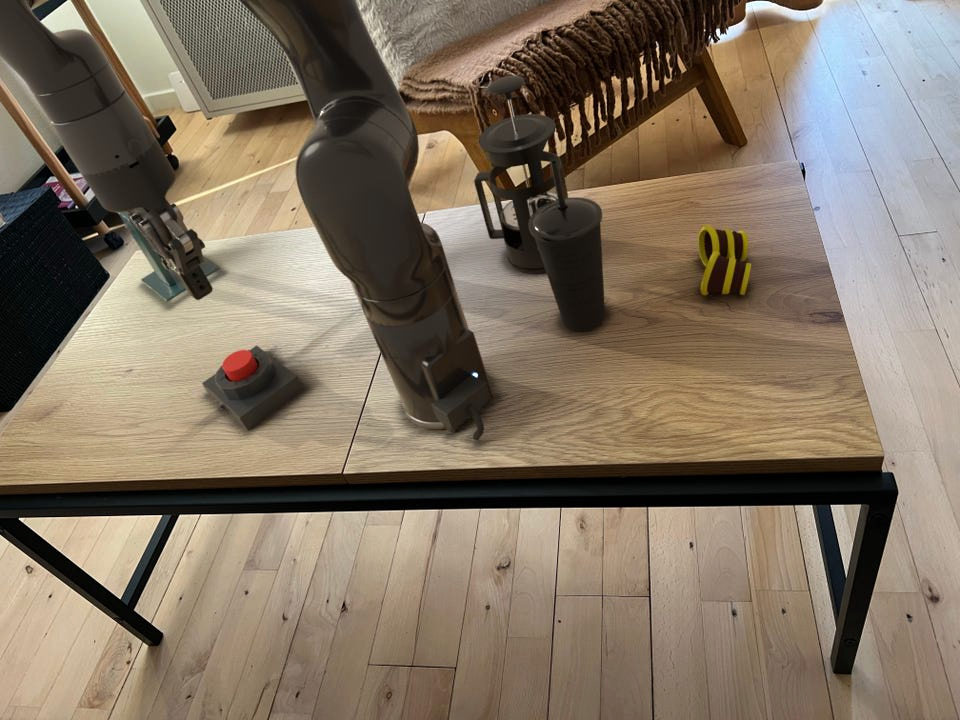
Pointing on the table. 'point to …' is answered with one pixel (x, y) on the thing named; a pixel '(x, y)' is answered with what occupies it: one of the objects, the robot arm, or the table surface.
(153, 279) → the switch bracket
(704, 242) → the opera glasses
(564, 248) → the drinking cup
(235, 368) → the button
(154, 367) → the table surface
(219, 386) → the button box
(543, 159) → the french press
